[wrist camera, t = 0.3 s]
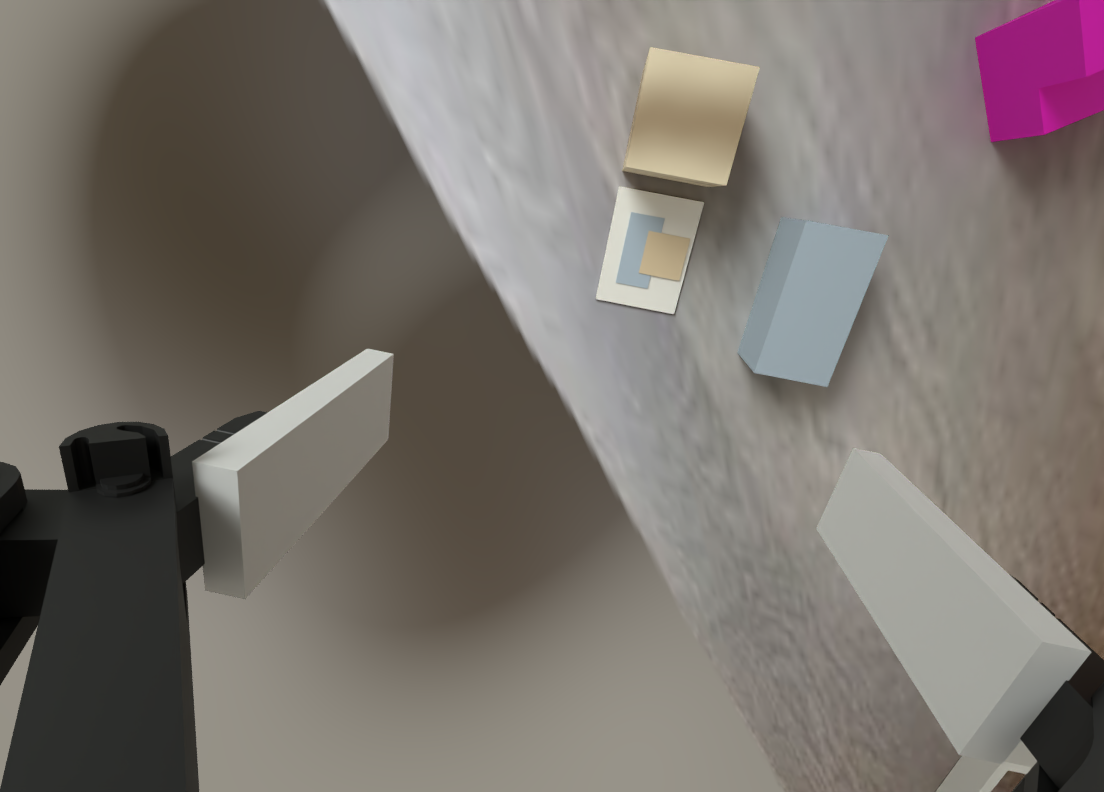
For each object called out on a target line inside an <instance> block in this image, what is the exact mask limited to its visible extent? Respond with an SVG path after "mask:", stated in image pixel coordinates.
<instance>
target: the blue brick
mask: <svg viewBox="0 0 1104 792" xmlns="http://www.w3.org/2000/svg"><path fill="white" fill-rule="evenodd" d="M888 236H889V235H884V234H878V233H873V232H867V231H862V230H856V229H851V228H845V227H840V226H835V225H829V224H824V223H818V222H813V221H807V220H800V219H792V218H784V217H781V220H780V223H779V226H778V229H777V232H776V235H775V238H774V241H773V245H772V248H771V251H770V254H769V257H768V260H767V263H766V266H765V269H764V272H763V275H762V279H761V282H760V285H759V288H758V291H757V294H756V297H755V300H754V303H753V306H752V310H751V313H750V316H749V319H748V322H747V325H746V328H745V331H744V334H743V337H742V340H741V344H740V347H739V350H738V354H739V355H740V356H741V358H742V359H743V360H744V361H745V362H746V364H747V365H748V366H749V367H750V368H751V370H752V371H753V372H754V373H757V374H762V375H767V376H773V377H778V378H783V379H788V380H793V381H799V382H804V383H809V384H814V385H819V386H824V387H828V384H829V382H830V379H831V377H832V374H833V372H834V369H835V367H836V364H837V362H838V360H839V357H840V355H841V352H842V350H843V347H844V345H845V342H846V340H847V337H848V335H849V332H850V330H851V327H852V325H853V322H854V320H855V318H856V315H857V313H858V310H859V308H860V305H861V303H862V300H863V298H864V295H865V293H866V290H867V288H868V285H869V283H870V280H871V278H872V275H873V273H874V271H875V268H876V266H877V263H878V261H879V258H880V256H881V253H882V251H883V248H884V246H885V243H886V241H887V238H888Z"/></svg>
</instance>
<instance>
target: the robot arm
mask: <svg viewBox="0 0 1104 792" xmlns="http://www.w3.org/2000/svg"><path fill="white" fill-rule="evenodd" d="M393 355H394V354H390V353H385V352H380V351H376V350H371V349H366V350H365V351H363V352H362V353H360V354H358V355H357V356H355V357H354V358H352V359H351V360H349V361H348V362H346V363H344V364H343V365H341V366H340V367H338V368H337V369H335V370H334V371H332V372H330V373H329V374H327V375H326V376H324V377H323V378H321V379H320V380H318V381H316V382H315V383H313V384H312V385H310V386H309V387H307V388H306V389H304V390H303V391H301V392H299V393H298V394H296V395H295V396H293V397H292V398H290V399H288V400H287V401H285V402H284V403H282V404H281V405H279V406H278V407H276V408H275V409H273V410H271V411H270V412H268V413H266V412H262V411H257V412H253V413H250V414H247V415H244V416H241V417H237V418H234V419H233V420H231V421H230V422H228V423H226V424H224V425H223V426H221V427H219V428H218V429H217V431H213V432H211V433H209V434H208V435H206V436H204V437H203V439H202V440H198V441H196V442H194V443H193V444H191V445H189V446H188V447H186V448H185V449H183V450H181V451H179V452H178V453H176V454H175V455H173V456H170V448H169V440H168V435H167V433H166V431H165V430H164V429H163V428H161V427H159V426H156V425H154V424H149V423H141V422H117V423H110V424H104V425H98V426H94V427H91V428H87V429H84V430H81V431H78V432H77V433H75V434H73V435H71V436H69V437H67V438H66V439H65V440H64V441H63V442H62V443H61V445H60V446H59V449H60V454H61V458H62V463H63V467H64V472H65V477H66V482H67V486H68V490H25V489H24V486H23V482H22V478H21V474H20V472H19V470H18V469H17V468H16V466H13V465H10V464H7V463H4V462H0V685H1V683H2V682H3V680H4V678H5V677H6V675H7V674H8V672H9V670H10V669H11V667H12V666H13V664H14V662H15V661H16V659H17V658H18V656H19V654H20V653H21V651H22V650H23V648H24V646H25V645H26V643H27V642H28V640H29V638H30V637H31V635H32V634H33V632H34V631H35V629H36V627H37V626H38V628H37V632H36V636H35V641H34V645H33V650H32V654H31V658H30V662H29V667H28V671H27V675H26V680H25V684H24V689H23V693H22V697H21V702H20V706H19V710H18V715H17V719H16V723H15V728H14V732H13V736H12V740H11V745H10V749H9V753H8V758H7V762H6V766H5V771H4V775H3V779H2V784H1V788H0V792H199V780H198V764H197V748H196V731H195V716H194V699H193V682H192V665H191V649H190V632H189V616H188V600H187V590H186V580H187V579H188V578H189V577H190V576H192V575H193V574H194V573H195V572H196V571H197V570H198V569H199V568H200V567H201V566H203V572H204V583H205V590H206V591H210V592H215V593H219V594H224V595H229V596H233V597H238V598H242V599H246V598H247V597H248V596H249V595H250V593H251V592H252V591H253V590H254V589H255V587H257V586H258V585H259V583H260V582H261V581H262V580H263V579H264V578H265V577H266V576H267V574H268V573H269V572H270V571H271V570H272V569H273V568H274V566H275V565H276V564H277V563H278V562H279V561H280V560H281V559H282V558H283V557H284V555H285V554H286V553H287V552H288V551H289V550H290V549H291V548H292V546H293V545H294V544H295V543H296V542H297V541H298V540H299V538H300V537H301V536H302V535H303V534H304V533H305V532H306V531H307V530H308V529H309V527H310V526H311V525H312V524H313V523H314V522H315V521H316V520H317V518H318V517H319V516H320V515H321V514H322V513H323V512H324V510H325V509H326V508H327V507H328V506H329V505H330V504H331V503H332V502H333V501H334V499H335V498H336V497H337V496H338V495H339V494H340V493H341V492H342V490H343V489H344V488H345V487H346V486H347V485H348V484H349V483H350V481H351V480H352V479H353V478H354V477H355V476H356V475H357V474H358V472H359V471H360V470H361V469H362V468H363V467H364V466H365V464H366V463H367V462H368V461H369V460H370V459H371V458H372V457H373V456H374V455H375V453H376V452H377V451H378V450H379V449H380V448H381V447H382V446H383V444H384V443H385V442H386V441H387V440H388V434H389V417H390V402H391V386H392V370H393ZM816 529H817V531H818V532H819V534H820V535H821V537H822V539H823V540H824V542H825V543H826V545H827V546H828V548H829V550H830V551H831V553H832V554H833V556H834V558H835V559H836V561H837V562H838V564H839V565H840V567H841V569H842V570H843V572H844V573H845V575H846V577H847V578H848V580H849V581H850V583H851V584H852V586H853V588H854V589H855V591H856V592H857V594H858V596H859V597H860V599H861V600H862V602H863V604H864V605H865V607H866V608H867V610H868V611H869V613H870V615H871V616H872V618H873V619H874V621H875V623H876V624H877V626H878V627H879V629H880V630H881V632H882V634H883V635H884V637H885V638H886V640H887V642H888V643H889V645H890V646H891V648H892V650H893V651H894V653H895V654H896V656H897V657H898V659H899V661H900V662H901V664H902V665H903V667H904V669H905V670H906V672H907V673H908V675H909V676H910V678H911V680H912V681H913V683H914V684H915V686H916V688H917V689H918V691H919V692H920V694H921V695H922V697H923V699H924V700H925V702H926V703H927V705H928V707H929V708H930V710H931V711H932V713H933V715H934V716H935V718H936V719H937V721H938V722H939V724H940V726H941V727H942V729H943V730H944V732H945V734H946V735H947V737H948V738H949V740H950V741H951V743H952V745H953V746H954V748H955V749H956V751H957V753H958V754H959V755H962V756H966V757H971V758H976V759H980V760H985V761H989V762H994V763H999V764H1003V763H1004V761H1005V760H1006V759H1007V758H1008V756H1009V755H1010V754H1011V753H1012V751H1013V750H1014V749H1015V748H1016V746H1017V745H1018V744H1019V743H1020V741H1022V742H1023V743H1024V745H1025V746H1026V747H1027V748H1028V750H1029V751H1030V752H1031V754H1032V755H1033V756H1034V758H1035V759H1036V760H1037V762H1036V763H1035V765H1034V766H1033V767H1032V768H1031V769H1030V771H1029V772H1028V773H1027V774H1026V775H1025V777H1024V778H1023V779H1022V780H1021V781H1020V783H1019V784H1018V785H1017V786H1016V787H1015V789H1014V790H1013V791H1012V792H1104V660H1103V659H1102V658H1101V657H1100V656H1099V655H1098V654H1096V653H1095V652H1094V651H1093V650H1092V649H1091V648H1090V647H1089V646H1088V645H1087V644H1086V643H1085V642H1084V641H1083V640H1081V639H1080V638H1079V637H1078V636H1077V635H1076V634H1075V633H1074V632H1073V631H1072V630H1071V629H1070V628H1069V627H1068V626H1066V625H1065V624H1064V623H1063V622H1062V621H1061V620H1060V619H1057V618H1055V614H1054V613H1053V612H1051V611H1050V610H1049V609H1048V608H1047V607H1046V606H1045V605H1044V604H1043V603H1040V602H1038V598H1037V597H1035V596H1034V595H1033V594H1032V593H1031V592H1030V591H1029V590H1028V589H1027V588H1026V587H1025V586H1024V585H1023V584H1022V583H1020V582H1019V581H1018V580H1017V579H1016V578H1014V577H1013V576H1011V575H1010V574H1008V573H1007V572H1006V571H1005V570H1004V569H1003V568H1002V567H1001V566H1000V565H999V564H997V563H996V562H995V561H994V560H993V559H992V558H991V557H990V556H989V555H988V554H987V553H986V552H985V551H984V550H983V549H982V548H980V547H979V546H978V545H977V544H976V543H975V542H974V541H973V540H972V539H971V538H970V537H969V536H968V535H967V534H966V533H965V532H963V531H962V530H961V529H960V528H959V527H958V526H957V525H956V524H955V523H954V522H953V521H952V520H951V519H950V518H949V517H948V516H946V515H945V514H944V513H943V512H942V511H941V510H940V509H939V508H938V507H937V506H936V505H935V504H934V503H933V502H932V501H931V500H929V499H928V498H927V497H926V496H925V495H924V494H923V493H922V492H921V491H920V490H919V489H918V488H917V487H916V486H915V485H914V484H912V483H911V482H910V481H909V480H908V479H907V478H906V477H905V476H904V475H903V474H902V473H901V472H900V471H899V470H898V469H897V468H895V467H894V466H893V465H892V464H891V463H890V462H889V461H888V460H887V459H886V458H885V457H884V456H883V455H882V454H880V453H875V452H871V451H866V450H861V449H856V448H853V449H852V452H851V454H850V456H849V458H848V460H847V463H846V465H845V467H844V469H843V471H842V473H841V476H840V478H839V480H838V482H837V484H836V487H835V489H834V491H833V493H832V495H831V497H830V500H829V502H828V504H827V506H826V508H825V511H824V513H823V515H822V517H821V519H820V522H819V524H818V526H817V528H816Z"/></svg>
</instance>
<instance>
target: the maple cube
mask: <svg viewBox="0 0 1104 792" xmlns="http://www.w3.org/2000/svg"><path fill="white" fill-rule="evenodd" d="M759 69H760V67H757V66H751V65H746V64H740V63H735V62H729V61H724V60H718V59H713V58H707V57H702V56H696V55H691V54H685V53H680V52H674V51H669V50H663V49H658V48H652V47H650V50H649V53H648V57H647V60H646V63H645V67H644V70H643V74H642V79H641V84H640V89H639V93H638V98H637V103H636V108H635V113H634V117H633V122H632V127H631V132H630V137H629V141H628V146H627V151H626V156H625V161H624V165H623V170H622V171H625V172H630V173H636V174H641V175H646V176H651V177H657V178H662V179H667V180H673V181H678V182H683V183H689V184H694V185H699V186H705V187H715V186H726V185H727V182H728V178H729V175H730V171H731V168H732V164H733V161H734V157H735V153H736V150H737V146H738V143H739V139H740V136H741V132H742V129H743V125H744V122H745V118H746V115H747V111H748V107H749V104H750V100H751V97H752V93H753V90H754V86H755V83H756V79H757V76H758V72H759Z"/></svg>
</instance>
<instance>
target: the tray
mask: <svg viewBox="0 0 1104 792" xmlns="http://www.w3.org/2000/svg"><path fill="white" fill-rule="evenodd" d="M1036 762H1037V760H1036V759H1035V758H1034V756H1033V755H1032V754H1031V752H1030V751H1029V750H1028V748H1027V747H1026V746H1025V745H1024V743H1023V742H1022V741H1020V743H1019V744H1018V745H1017V746H1016V748H1015V749H1014V750H1013V751H1012V753H1011V754H1010V755H1009V756H1008V758H1007V759H1006V760H1005V761H1004V763H1003V764H999V763H994V762H989V761H985V760H980V759H976V758H971V757H966V756H962V757H961V758H960V759H959V761H958V762H957V763H956V765H955V766H954V767H953V769H952V770H951V771H950V773H949V774H948V776H947V777H946V778H945V780H944V781H943V782H942V784H941V785H940V786H939V788H938V789H937V791H936V792H991V791H992V790H993V788H994V787H995V786H996V785H997V783H998V782H999V781H1000V780H1001V778H1002V777H1003V776H1004V775H1005V773H1006V772H1007V771H1008V770H1009V771H1014V772H1018V773H1023V774H1027V773H1028V772H1029V771H1030V769H1031V768H1032V767H1033V766H1034V765H1035V763H1036Z"/></svg>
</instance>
